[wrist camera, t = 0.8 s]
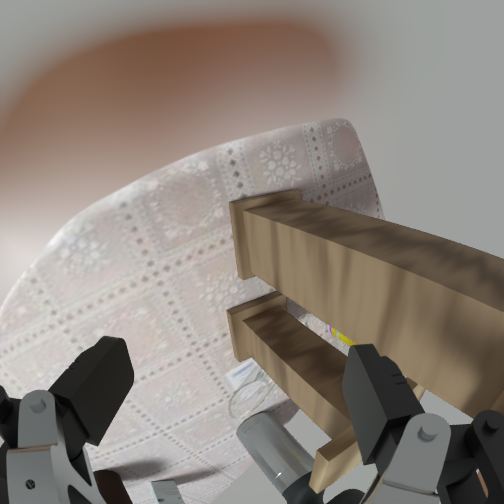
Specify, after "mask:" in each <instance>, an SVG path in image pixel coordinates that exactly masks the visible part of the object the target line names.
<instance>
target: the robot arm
mask: <svg viewBox="0 0 504 504" xmlns="http://www.w3.org/2000/svg"><path fill="white" fill-rule="evenodd" d="M74 361H75V362H73V363H72V364H71V365H70V366H69V369H66V370H65V371H64V373H63V374H62V375H61V376H60V377H59V378H58V379H57V380H56V382H55V383H54V384H53V385H52V386H51V387H50V388H49V390H48V391H46V390H35V391H32V392H30V393H28V394H27V395H25V396H24V397H23V399H15V398H9V396H8V395H7V393H6V391H5V389H4V388H3V387H2V386H1V385H0V436H1V437H2V439H3V440H4V443H3V444H2V446H1V447H0V504H106V502H105V501H104V499H103V498H102V496H101V495H100V493H99V490H98V487H97V484H96V481H95V478H94V475H93V471H92V468H91V464H90V460H89V457H88V453H87V450H86V448H85V447H84V444H85V443H86V442H87V443H90V444H92V445H95V446H98V445H99V443H100V442H101V440H102V438H103V436H104V434H105V433H106V431H107V429H108V427H109V426H110V424H111V422H112V420H113V418H114V417H115V415H116V413H117V411H118V410H119V408H120V406H121V405H122V403H123V401H124V399H125V398H126V396H127V394H128V392H129V391H130V389H131V387H132V385H133V382H134V370H133V367H132V364H131V360H130V357H129V353H128V349H127V346H126V343H125V341H124V339H122V338H116V337H110V336H103V337H102V338H101V339H100V340H99V341H98V342H97V343H96V344H95V345H94V347H93V346H92V347H91V348H89V349H87V350H85V351H84V352H82V353H81V354H80V355H79V356H78V357H77V358H76V359H75V360H74ZM342 390H343V396H344V399H345V402H346V405H347V409H348V412H349V415H350V419H351V422H352V426H353V429H354V432H355V436H356V439H357V443H358V446H359V450H360V454H361V457H362V461H363V465H368V464H373V463H375V464H376V467H377V471H378V473H377V474H376V476H375V478H374V480H373V482H372V483H371V485H370V487H369V488H368V490H367V492H366V493H364V492H362V491H360V490H357V489H348V490H345V491H343V492H341V493H340V494H338V495H337V496H335V497H334V498H333V499H332V500H330V501H329V502H328V503H327V504H439V501H441V504H504V416H503V415H502V414H501V413H499V412H497V411H494V410H484V411H481V412H480V413H478V414H477V415H476V417H475V418H474V420H473V421H472V423H471V424H462V425H449V424H448V423H447V422H446V420H445V419H443V418H442V417H440V416H438V415H435V414H431V413H425V411H424V410H423V408H422V406H421V404H420V403H419V401H418V399H417V397H416V395H415V394H414V392H413V390H412V389H411V387H410V385H409V384H408V383H407V380H406V379H405V377H404V375H402V372H401V370H400V369H399V367H398V365H397V364H396V363H395V362H394V361H392V360H391V359H390V358H388V357H387V356H380V355H379V353H378V352H377V350H376V348H375V346H374V345H373V344H372V343H370V344H359V345H351V346H350V349H349V353H348V357H347V362H346V367H345V371H344V376H343V381H342ZM237 437H238V438H239V440H240V441H241V442H242V444H243V445H244V447H245V448H246V450H247V451H248V452H249V454H250V455H251V457H252V458H253V459H254V461H255V462H256V463H257V464H258V466H259V467H260V468H261V470H262V471H263V472H264V474H265V475H266V476H267V477H268V479H269V480H270V481H271V482H272V484H273V485H274V486H275V487H276V488H277V490H278V491H279V492H280V493H281V494H282V496H283V497H284V498H285V499H286V501H287V504H324V503H323V494H324V491H325V489H326V488H325V489H324V490H322V491H321V492H319V493H318V494H317V493H316V492H315V491H314V490H313V489H312V488H311V487H310V486H309V482H310V478H311V474H312V470H313V465H314V461H315V459H314V458H313V457H312V456H311V455H310V454H309V453H308V452H307V451H306V450H305V449H304V448H303V447H302V446H301V445H300V444H299V443H298V442H297V440H296V439H295V438H294V437H293V436H292V435H291V434H290V433H289V432H288V431H287V429H286V428H285V427H284V426H283V425H282V424H281V423H280V421H279V420H278V419H277V418H276V417H275V416H274V415H273V414H272V413H270V412H263V413H259V414H256V415H254V416H252V417H250V418H249V419H247V420H246V421H245V422H244V423H243V424H242V425H241V426H240V427H239V428H238V430H237ZM477 469H479V471H480V473H481V475H482V478H483V480H484V482H485V485H486V487H487V490H488V497H486V494H485V492H484V489H483V487H482V484H481V482H480V479H479V477H478V475H477V472H476V470H477ZM436 489H437V492H438V494H436V493H435V490H436Z"/></svg>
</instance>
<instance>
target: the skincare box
mask: <svg viewBox="0 0 504 504" xmlns="http://www.w3.org/2000/svg"><path fill="white" fill-rule="evenodd" d="M149 490H150V492H151V495H152V497H153V500H154V503H155V504H185V503H184V501H183V499H182V497H181V494H180V492H179V490H178V488H177V486H176V483H175V481H158V482H151V483H150V488H149Z"/></svg>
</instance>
